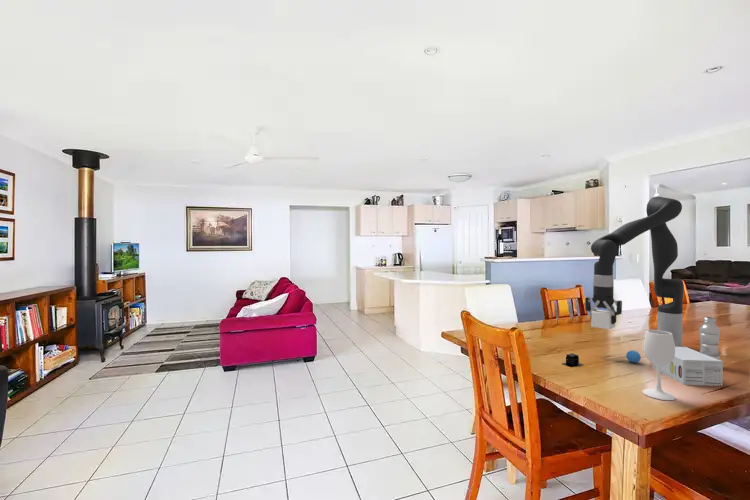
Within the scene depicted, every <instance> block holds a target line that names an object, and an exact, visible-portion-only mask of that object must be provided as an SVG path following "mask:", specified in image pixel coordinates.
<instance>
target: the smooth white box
mask: <svg viewBox="0 0 750 500" xmlns="http://www.w3.org/2000/svg"><path fill="white" fill-rule="evenodd" d="M611 316H612V314H611V313H610V311H608V310H601V309H596V311H592V312H591V313H590V321H591V322H590V325H591V326H590V327H592V328H597V329H598V328H599V329H604V330H611V329H613V328H615V327H616V323H615V324H611Z"/></svg>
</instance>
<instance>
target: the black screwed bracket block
mask: <svg viewBox="0 0 750 500" xmlns="http://www.w3.org/2000/svg"><path fill="white" fill-rule="evenodd" d="M584 364H585V363H582V362H581V363H580V358H579V355H578V354H577V353H573V352H572V353H567V354H566V357H565V362H563V363H561V365H563V366H566V367H570V368H575V367H578V366H584Z"/></svg>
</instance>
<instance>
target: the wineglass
mask: <svg viewBox="0 0 750 500" xmlns="http://www.w3.org/2000/svg"><path fill="white" fill-rule="evenodd" d="M643 353H644V356H645V357H646V359H647V360H648V361H649V362H650V363H652V365H653V364H655V366H656V368H657V370H656V385H655V388H644V389H642V391H641V392H642V394H643V395H646V396H648V397H649V398H653V399H656V400H661V401H674V400H675V401H676V399H677V398H676V396H675V395H673V394H672V393H671V392H668V391H666V390H663V389H662V383H661V381H662V380H661V379H662V378H661V374H662V373H661V368H662V366H664V365H667V364H669V363H670V362H672V361H673V359H674V356H675V343H674V339H673V335H672V333H670V332H666V331H660V330H658V329H647V330H646V332H645V336H644V340H643Z"/></svg>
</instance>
